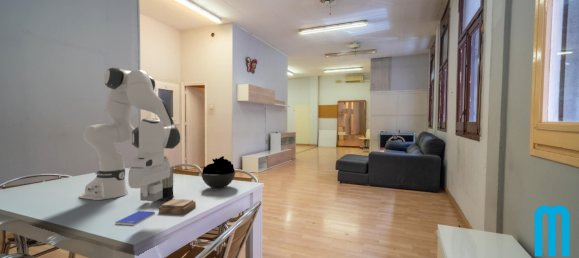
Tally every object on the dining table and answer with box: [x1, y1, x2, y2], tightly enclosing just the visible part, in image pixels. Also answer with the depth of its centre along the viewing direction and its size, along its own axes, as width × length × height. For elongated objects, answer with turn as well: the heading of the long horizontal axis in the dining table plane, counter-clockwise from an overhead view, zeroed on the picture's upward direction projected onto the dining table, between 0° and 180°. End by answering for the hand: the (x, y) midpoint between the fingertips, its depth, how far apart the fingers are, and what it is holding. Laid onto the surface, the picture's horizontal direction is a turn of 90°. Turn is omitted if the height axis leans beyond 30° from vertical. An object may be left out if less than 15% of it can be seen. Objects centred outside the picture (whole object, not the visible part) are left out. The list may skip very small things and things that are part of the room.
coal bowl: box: [200, 155, 236, 190], centre depth 154 cm, size 20×20×19 cm
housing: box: [139, 182, 163, 202], centre depth 100 cm, size 6×5×6 cm
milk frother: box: [155, 168, 175, 202], centre depth 130 cm, size 14×16×15 cm
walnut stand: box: [158, 198, 196, 215], centre depth 115 cm, size 12×10×4 cm
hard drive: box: [115, 210, 156, 226], centre depth 105 cm, size 2×8×12 cm
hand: (151, 193), depth 101 cm, fingers closed on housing, 5 cm apart
